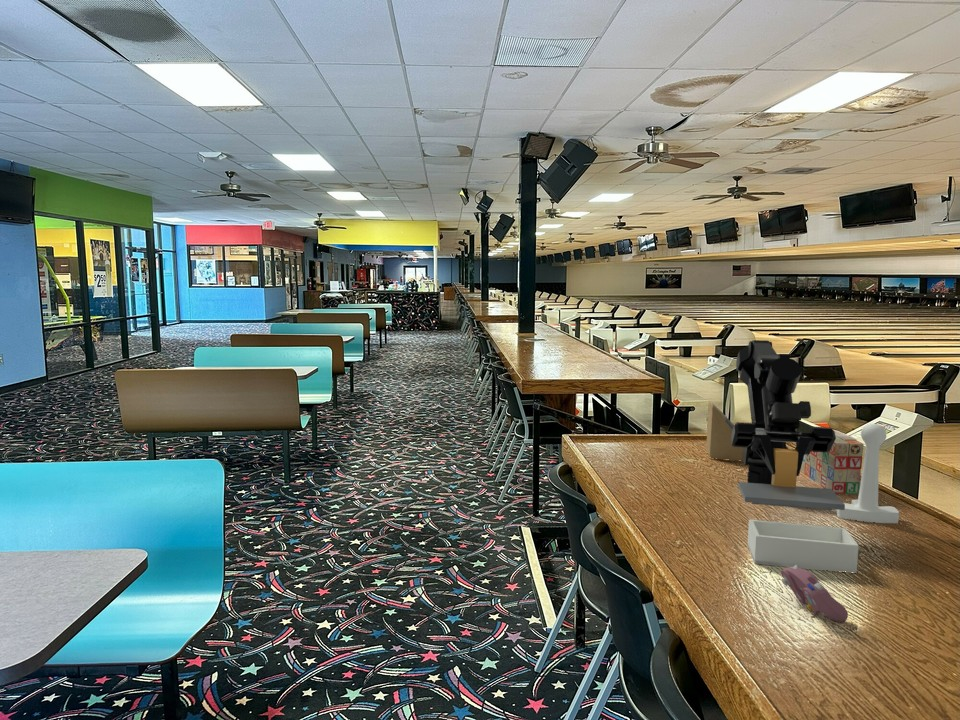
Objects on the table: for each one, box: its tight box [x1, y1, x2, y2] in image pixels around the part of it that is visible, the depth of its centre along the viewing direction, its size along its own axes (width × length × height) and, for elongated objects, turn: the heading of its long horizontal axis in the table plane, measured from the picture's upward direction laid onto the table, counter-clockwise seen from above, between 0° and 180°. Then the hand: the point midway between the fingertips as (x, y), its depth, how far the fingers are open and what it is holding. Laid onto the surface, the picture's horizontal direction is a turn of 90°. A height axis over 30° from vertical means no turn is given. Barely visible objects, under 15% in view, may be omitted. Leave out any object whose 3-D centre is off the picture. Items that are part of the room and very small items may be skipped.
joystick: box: [834, 423, 900, 524], centre depth 135 cm, size 11×8×20 cm
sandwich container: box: [705, 400, 743, 461], centre depth 180 cm, size 9×15×15 cm, turn 78°
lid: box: [737, 448, 845, 511], centre depth 125 cm, size 11×17×9 cm, turn 76°
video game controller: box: [780, 565, 849, 623], centre depth 98 cm, size 10×5×7 cm, turn 5°
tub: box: [747, 519, 860, 574], centre depth 115 cm, size 8×16×5 cm, turn 76°
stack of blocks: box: [800, 429, 865, 495], centre depth 160 cm, size 21×6×12 cm, turn 176°
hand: (785, 474), depth 128 cm, fingers closed on lid, 4 cm apart
